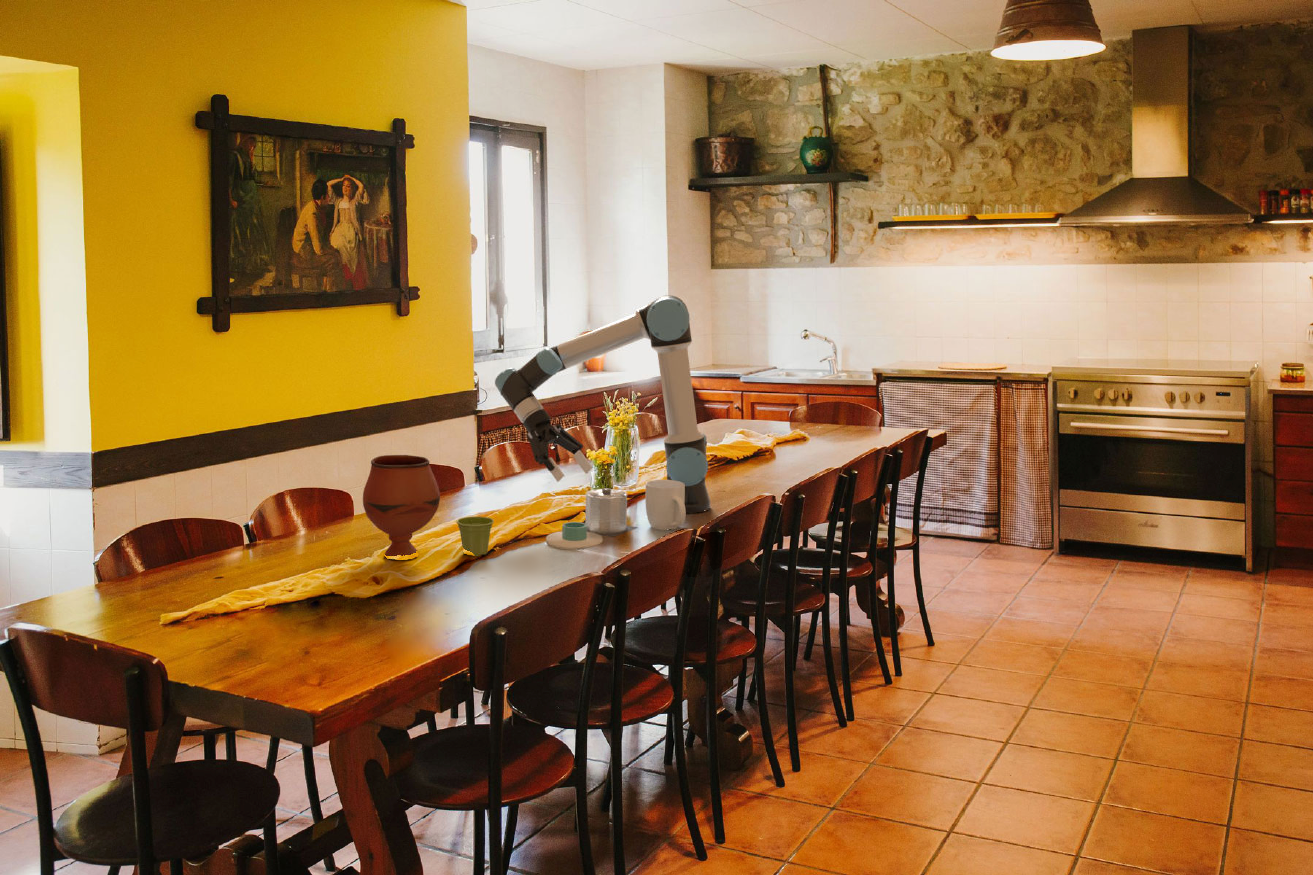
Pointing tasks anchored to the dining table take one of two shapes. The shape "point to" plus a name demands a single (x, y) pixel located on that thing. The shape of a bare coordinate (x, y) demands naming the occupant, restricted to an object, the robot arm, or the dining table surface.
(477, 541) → the plant pot
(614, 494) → the cover
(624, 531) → the mat
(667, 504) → the mug
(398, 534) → the goblet
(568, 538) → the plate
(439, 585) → the dining table surface
